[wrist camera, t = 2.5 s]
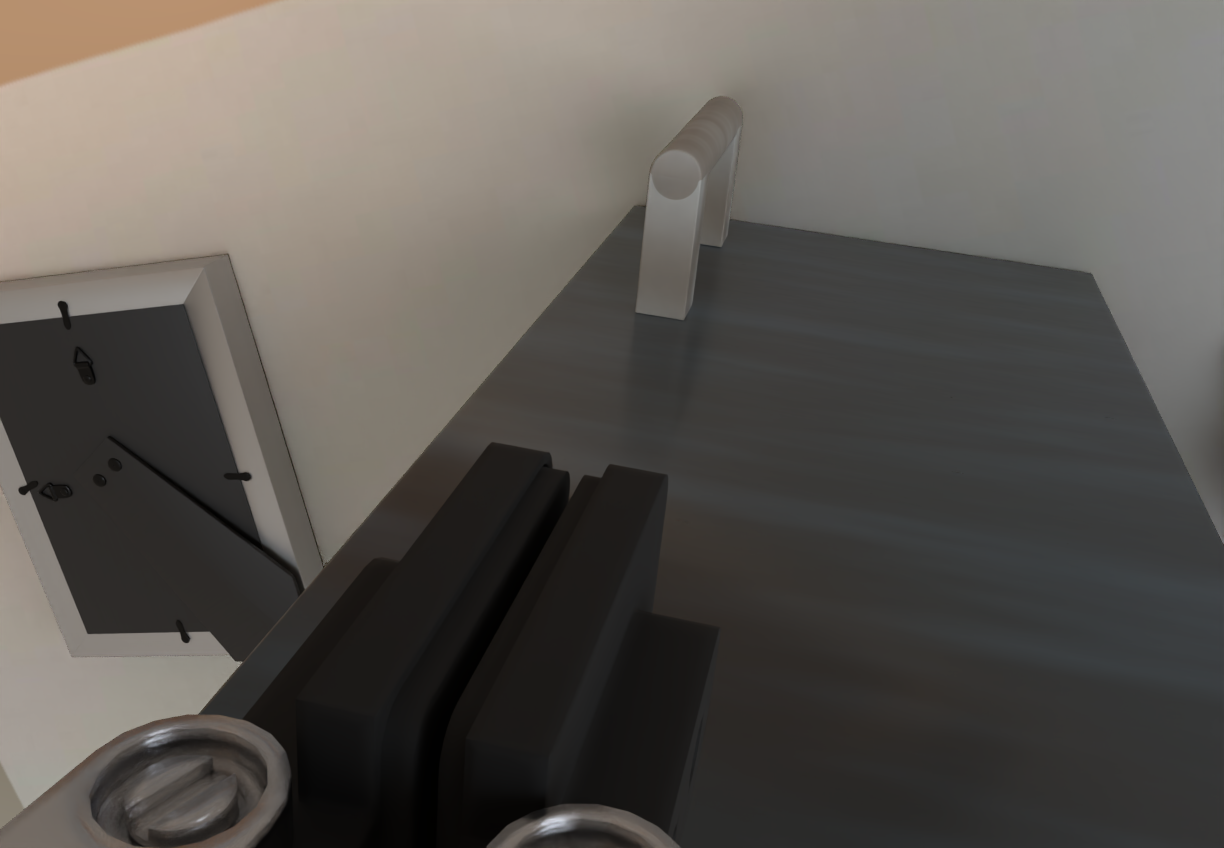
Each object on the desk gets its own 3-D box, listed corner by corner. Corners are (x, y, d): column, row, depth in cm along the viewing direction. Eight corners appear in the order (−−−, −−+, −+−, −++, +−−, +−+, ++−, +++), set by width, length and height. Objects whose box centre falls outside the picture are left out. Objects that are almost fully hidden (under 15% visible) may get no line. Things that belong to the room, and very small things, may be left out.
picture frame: (343, 631, 62) (228, 253, 54) (319, 662, 59) (195, 271, 51) (94, 636, 66) (-46, 287, 58) (62, 665, 63) (-89, 305, 56)
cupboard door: (647, 74, 46) (-61, 578, 12) (1131, 137, 43) (1950, 1035, 9) (631, 228, 49) (17, 985, 15) (1085, 297, 46) (1590, 1440, 12)
